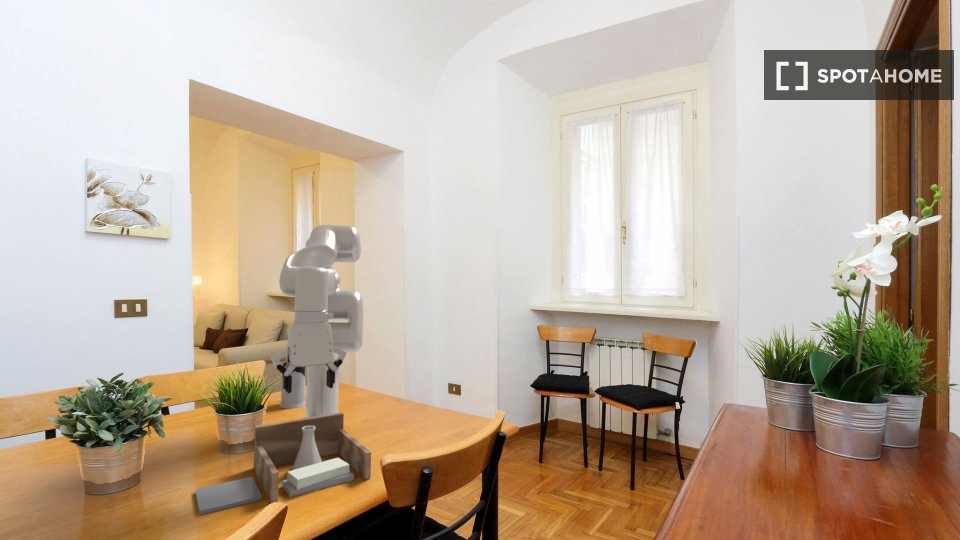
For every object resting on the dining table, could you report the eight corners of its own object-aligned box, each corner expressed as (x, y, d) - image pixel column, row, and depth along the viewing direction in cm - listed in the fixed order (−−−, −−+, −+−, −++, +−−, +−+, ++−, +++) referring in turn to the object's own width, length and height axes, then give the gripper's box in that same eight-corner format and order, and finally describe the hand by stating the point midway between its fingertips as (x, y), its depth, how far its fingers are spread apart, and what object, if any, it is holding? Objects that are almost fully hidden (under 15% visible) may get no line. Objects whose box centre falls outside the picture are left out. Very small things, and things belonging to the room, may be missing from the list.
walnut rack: (253, 467, 111) (254, 426, 111) (340, 449, 123) (341, 412, 123) (271, 503, 94) (272, 453, 94) (370, 478, 106) (371, 434, 106)
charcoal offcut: (282, 489, 101) (282, 480, 101) (343, 473, 110) (344, 465, 110) (289, 500, 97) (289, 490, 97) (353, 483, 105) (353, 474, 105)
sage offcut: (287, 480, 101) (287, 471, 101) (337, 465, 110) (338, 457, 110) (297, 489, 97) (297, 479, 97) (349, 473, 106) (349, 464, 106)
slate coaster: (195, 492, 98) (195, 489, 98) (252, 480, 104) (252, 476, 104) (199, 515, 89) (199, 510, 89) (261, 499, 95) (261, 496, 95)
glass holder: (280, 409, 159) (281, 365, 160) (279, 399, 172) (280, 359, 172) (307, 406, 163) (307, 364, 163) (304, 397, 176) (305, 357, 176)
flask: (317, 460, 116) (318, 421, 116) (328, 470, 110) (329, 428, 110) (287, 468, 111) (288, 426, 111) (297, 478, 105) (298, 434, 106)
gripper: (341, 316, 119) (340, 382, 119) (269, 318, 109) (267, 390, 109) (351, 318, 113) (350, 388, 113) (276, 320, 103) (274, 397, 103)
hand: (309, 389), depth 111 cm, fingers open, 9 cm apart
